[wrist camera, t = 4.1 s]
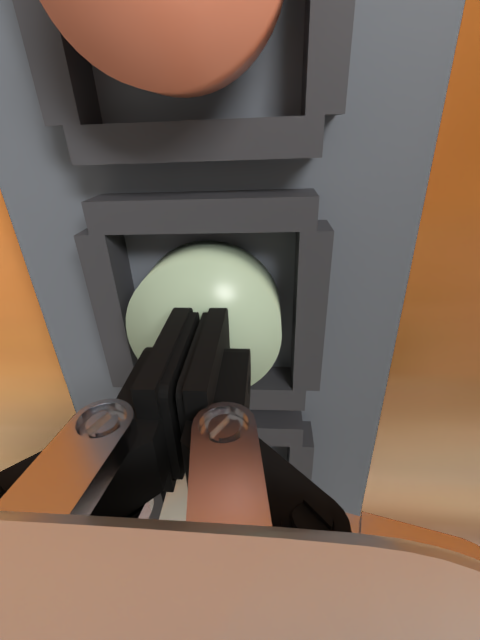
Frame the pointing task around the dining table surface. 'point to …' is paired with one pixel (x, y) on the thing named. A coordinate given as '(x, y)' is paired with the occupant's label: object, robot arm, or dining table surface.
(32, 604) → the robot arm
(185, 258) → the sage button
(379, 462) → the dining table surface
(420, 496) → the dining table surface
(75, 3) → the terracotta button
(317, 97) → the button panel
